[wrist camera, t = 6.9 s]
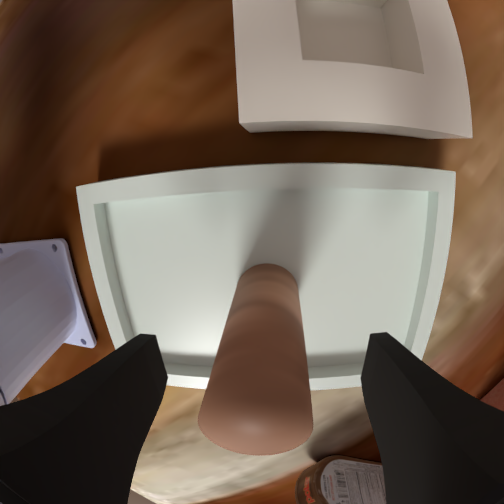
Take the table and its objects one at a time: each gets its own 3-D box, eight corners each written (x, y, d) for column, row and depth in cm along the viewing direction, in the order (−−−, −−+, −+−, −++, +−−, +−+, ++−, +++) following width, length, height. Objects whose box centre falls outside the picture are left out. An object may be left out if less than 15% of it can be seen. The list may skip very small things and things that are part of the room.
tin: (292, 457, 21) (291, 535, 13) (314, 443, 20) (319, 528, 12) (393, 474, 22) (404, 529, 14) (413, 462, 21) (428, 518, 13)
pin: (238, 318, 14) (207, 451, 7) (234, 264, 14) (187, 389, 6) (297, 317, 14) (308, 454, 7) (298, 262, 13) (319, 391, 6)
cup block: (249, 132, 12) (239, 123, 9) (240, -19, 9) (229, -61, 6) (427, 138, 12) (472, 138, 8) (403, -6, 9) (431, -37, 5)
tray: (138, 360, 18) (127, 379, 16) (97, 181, 14) (76, 186, 12) (405, 358, 16) (415, 378, 14) (435, 168, 12) (455, 171, 10)
